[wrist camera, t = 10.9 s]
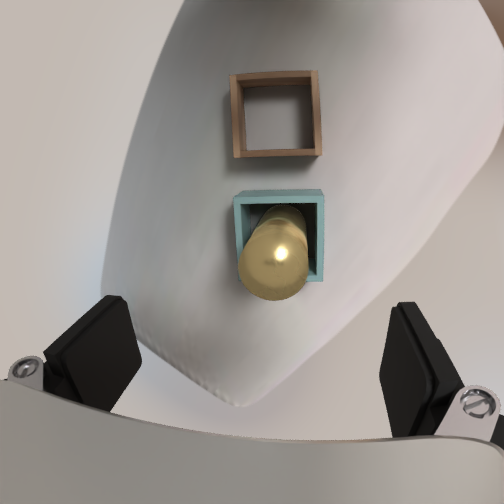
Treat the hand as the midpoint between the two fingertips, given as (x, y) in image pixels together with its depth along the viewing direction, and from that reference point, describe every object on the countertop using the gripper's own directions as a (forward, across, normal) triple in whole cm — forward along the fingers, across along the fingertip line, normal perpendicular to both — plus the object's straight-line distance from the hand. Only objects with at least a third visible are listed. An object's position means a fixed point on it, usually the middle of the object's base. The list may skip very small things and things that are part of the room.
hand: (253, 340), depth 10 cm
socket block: (+18, 0, -9) cm, 20 cm away
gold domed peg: (+18, 0, +1) cm, 18 cm away
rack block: (+18, 0, +1) cm, 18 cm away
